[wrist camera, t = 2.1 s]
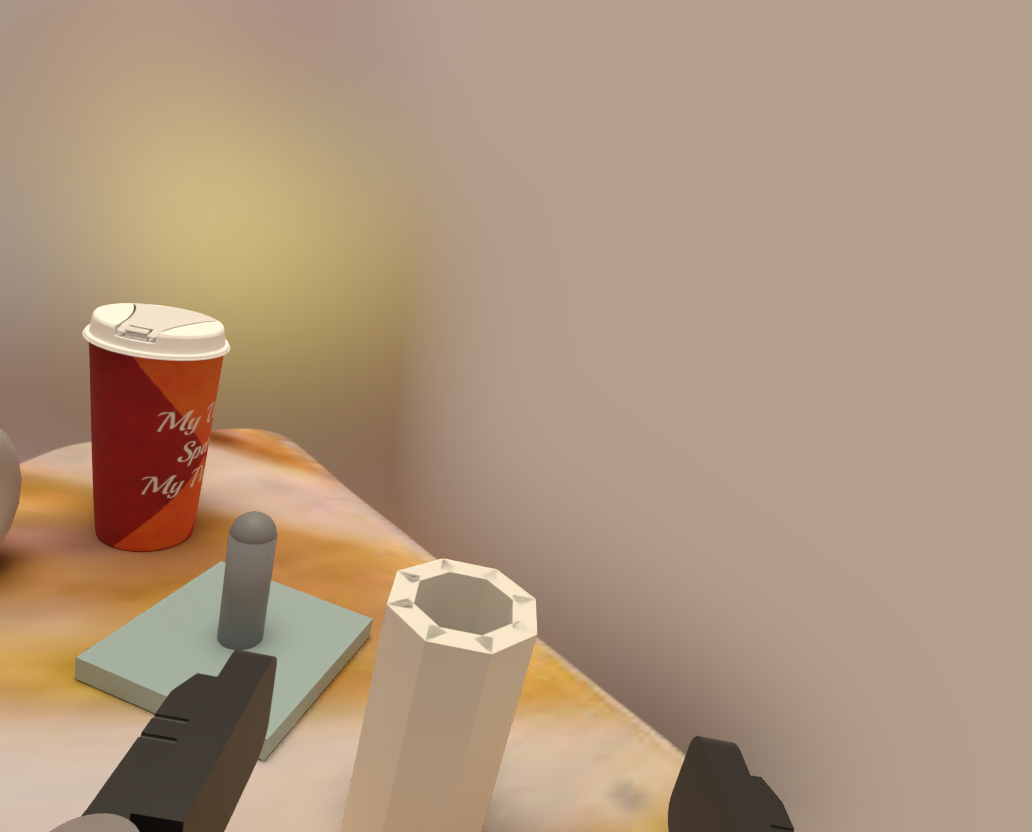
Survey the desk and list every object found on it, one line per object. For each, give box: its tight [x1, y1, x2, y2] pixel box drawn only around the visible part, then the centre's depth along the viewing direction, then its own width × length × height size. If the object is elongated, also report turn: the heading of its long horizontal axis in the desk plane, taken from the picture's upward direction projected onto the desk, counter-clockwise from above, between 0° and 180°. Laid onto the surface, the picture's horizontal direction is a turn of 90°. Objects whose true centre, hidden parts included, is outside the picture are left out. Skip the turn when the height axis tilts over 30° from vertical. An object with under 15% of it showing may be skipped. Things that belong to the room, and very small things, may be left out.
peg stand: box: [75, 511, 373, 761], centre depth 34 cm, size 10×10×8 cm
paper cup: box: [82, 303, 230, 552], centre depth 42 cm, size 8×8×14 cm
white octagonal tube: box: [341, 559, 537, 832], centre depth 27 cm, size 5×5×11 cm
